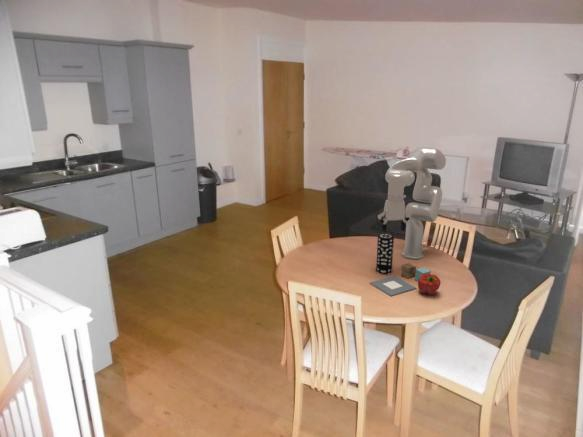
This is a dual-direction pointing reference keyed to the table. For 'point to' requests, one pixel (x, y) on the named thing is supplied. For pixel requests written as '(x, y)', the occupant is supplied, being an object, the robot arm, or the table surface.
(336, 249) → the table surface
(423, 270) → the teal block
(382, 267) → the white-spotted black cylinder
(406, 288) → the slate mat
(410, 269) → the walnut block
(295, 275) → the table surface
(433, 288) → the vegetable
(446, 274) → the table surface
